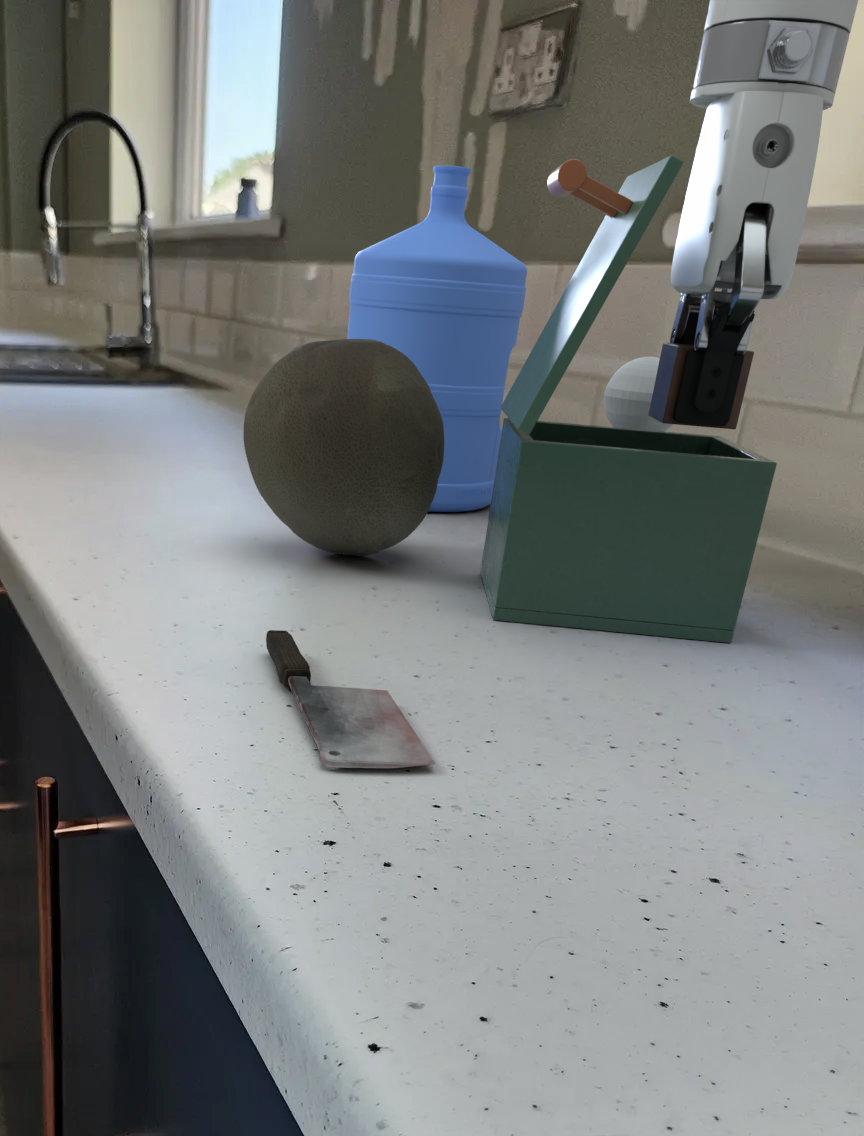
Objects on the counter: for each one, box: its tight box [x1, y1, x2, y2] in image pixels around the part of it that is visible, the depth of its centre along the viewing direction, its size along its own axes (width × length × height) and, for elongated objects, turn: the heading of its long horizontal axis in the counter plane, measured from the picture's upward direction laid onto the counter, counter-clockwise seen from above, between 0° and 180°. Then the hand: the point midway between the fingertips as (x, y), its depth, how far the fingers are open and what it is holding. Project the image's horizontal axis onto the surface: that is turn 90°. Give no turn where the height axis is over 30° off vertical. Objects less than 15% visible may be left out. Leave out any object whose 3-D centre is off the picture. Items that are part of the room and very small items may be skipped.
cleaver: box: [265, 629, 436, 769], centre depth 54 cm, size 16×1×5 cm
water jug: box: [346, 165, 528, 513], centre depth 103 cm, size 16×16×28 cm
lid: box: [500, 154, 684, 435], centre depth 68 cm, size 15×13×5 cm
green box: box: [479, 417, 778, 644], centre depth 73 cm, size 15×13×11 cm
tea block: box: [648, 342, 755, 430], centre depth 69 cm, size 4×4×4 cm
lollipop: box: [603, 356, 674, 432], centre depth 87 cm, size 6×6×15 cm
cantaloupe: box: [243, 338, 444, 557], centre depth 81 cm, size 14×14×15 cm
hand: (690, 416), depth 70 cm, fingers closed on tea block, 4 cm apart
